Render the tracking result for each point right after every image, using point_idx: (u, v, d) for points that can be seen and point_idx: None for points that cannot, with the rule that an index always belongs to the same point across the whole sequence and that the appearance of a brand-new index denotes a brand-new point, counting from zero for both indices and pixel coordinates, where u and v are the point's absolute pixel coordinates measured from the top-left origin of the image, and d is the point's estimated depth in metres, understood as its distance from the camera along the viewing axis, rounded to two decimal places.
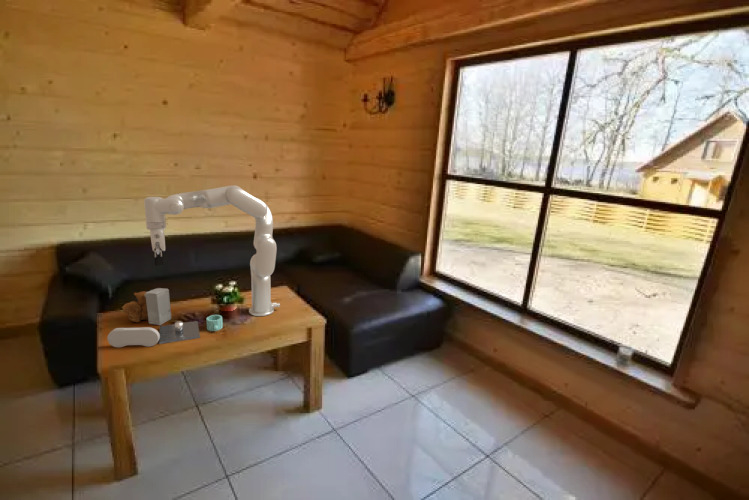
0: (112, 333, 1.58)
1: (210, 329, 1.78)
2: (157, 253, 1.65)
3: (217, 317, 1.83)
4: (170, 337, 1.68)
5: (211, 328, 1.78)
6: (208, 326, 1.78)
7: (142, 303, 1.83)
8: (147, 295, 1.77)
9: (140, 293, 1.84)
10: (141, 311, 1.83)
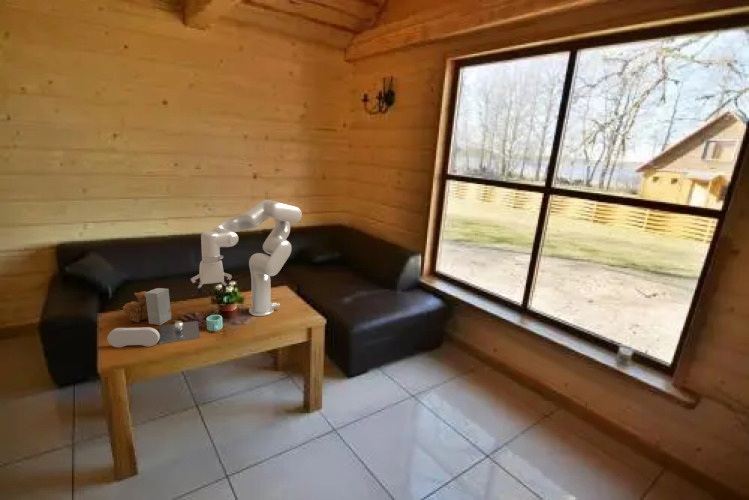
0: (112, 333, 1.58)
1: (210, 329, 1.78)
2: None
3: (217, 317, 1.83)
4: (170, 337, 1.68)
5: (211, 328, 1.78)
6: (208, 326, 1.78)
7: (142, 303, 1.83)
8: (147, 295, 1.77)
9: (140, 293, 1.84)
10: (141, 311, 1.83)
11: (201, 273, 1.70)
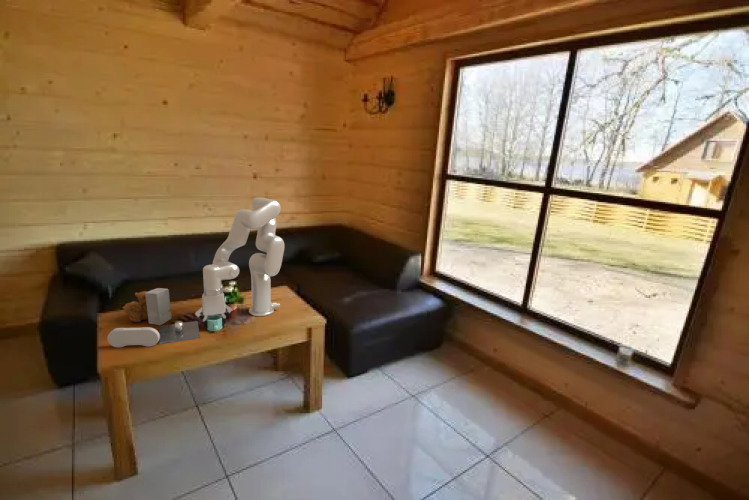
0: (112, 333, 1.58)
1: (210, 329, 1.78)
2: None
3: (217, 317, 1.83)
4: (170, 337, 1.68)
5: (211, 328, 1.78)
6: (208, 326, 1.78)
7: (143, 303, 1.84)
8: (147, 295, 1.77)
9: (141, 293, 1.84)
10: (142, 311, 1.83)
11: (203, 306, 1.74)
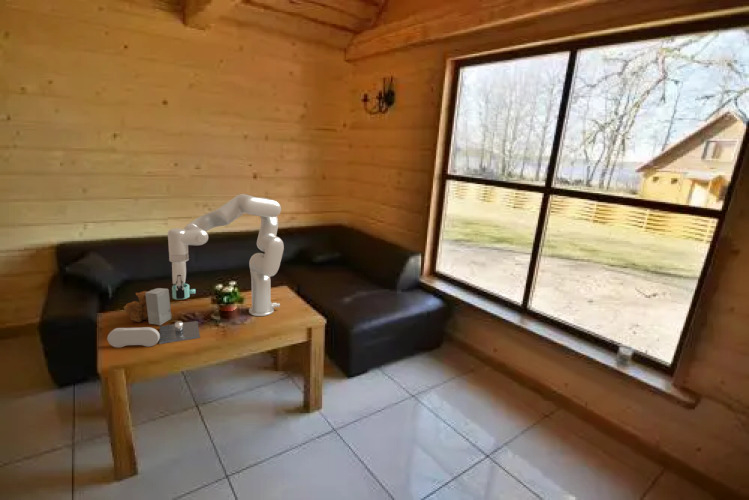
0: (112, 333, 1.57)
1: (187, 296, 1.70)
2: None
3: (175, 287, 1.70)
4: (170, 337, 1.68)
5: (188, 294, 1.70)
6: (185, 294, 1.68)
7: (144, 303, 1.84)
8: (147, 295, 1.77)
9: (142, 293, 1.84)
10: (143, 311, 1.83)
11: (184, 272, 1.65)
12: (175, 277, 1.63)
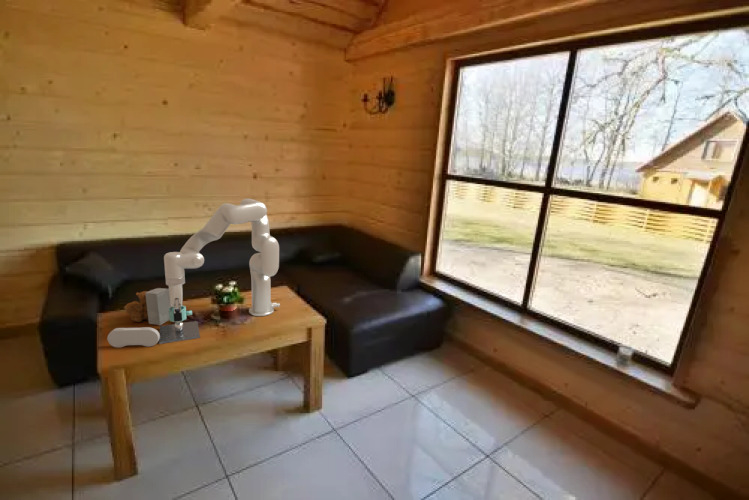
0: (112, 333, 1.57)
1: (184, 318, 1.72)
2: None
3: (172, 309, 1.72)
4: (170, 337, 1.68)
5: (185, 316, 1.72)
6: (182, 316, 1.70)
7: (144, 303, 1.84)
8: (147, 295, 1.77)
9: (142, 293, 1.84)
10: (143, 311, 1.83)
11: (181, 295, 1.67)
12: (173, 300, 1.65)
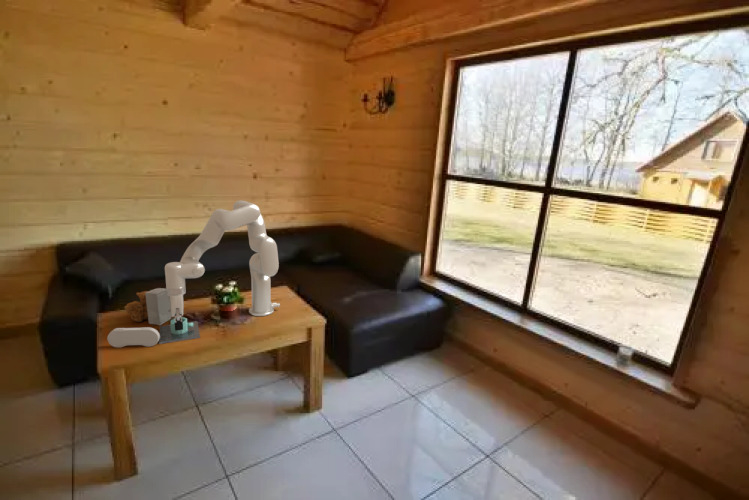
0: (112, 333, 1.57)
1: (186, 330, 1.74)
2: None
3: (173, 321, 1.74)
4: (170, 337, 1.68)
5: (186, 328, 1.74)
6: (183, 328, 1.72)
7: (144, 303, 1.84)
8: (147, 295, 1.77)
9: (142, 293, 1.84)
10: (143, 311, 1.83)
11: (182, 305, 1.68)
12: (174, 310, 1.66)
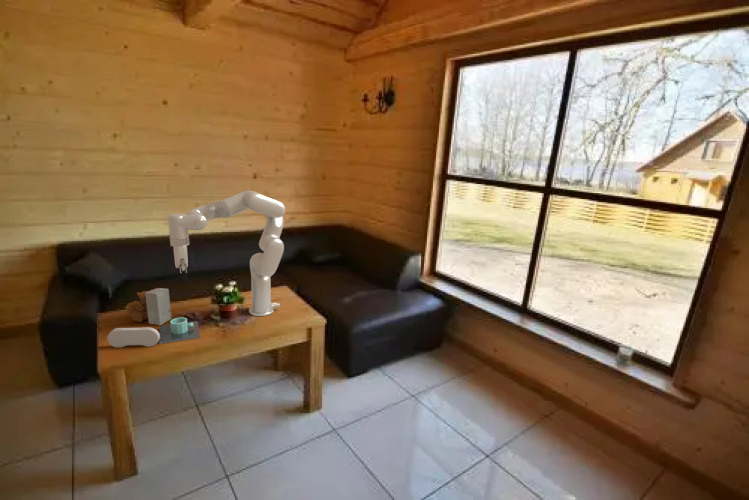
0: (112, 333, 1.57)
1: (186, 330, 1.74)
2: None
3: (173, 321, 1.74)
4: (170, 337, 1.68)
5: (186, 328, 1.74)
6: (183, 328, 1.72)
7: (145, 303, 1.84)
8: (147, 295, 1.77)
9: (143, 293, 1.84)
10: (144, 311, 1.83)
11: (186, 256, 1.69)
12: (178, 261, 1.68)
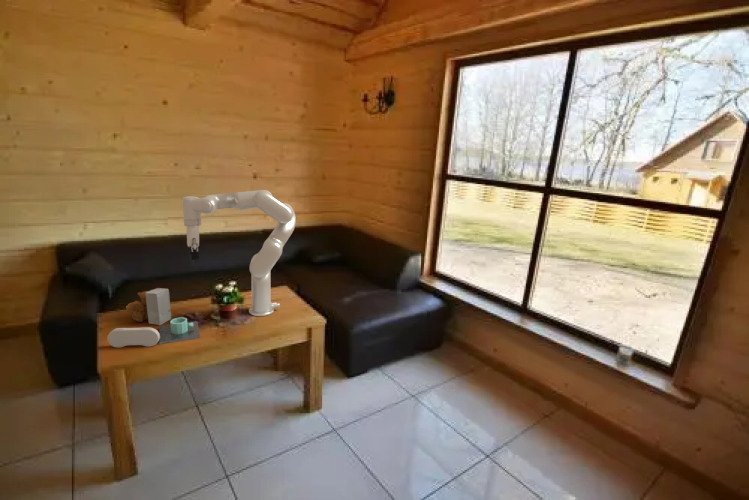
0: (112, 333, 1.57)
1: (186, 330, 1.74)
2: None
3: (173, 321, 1.74)
4: (170, 337, 1.68)
5: (186, 328, 1.74)
6: (183, 328, 1.72)
7: (146, 303, 1.84)
8: (147, 295, 1.77)
9: (144, 293, 1.84)
10: (145, 311, 1.83)
11: (198, 236, 1.81)
12: (190, 240, 1.80)
